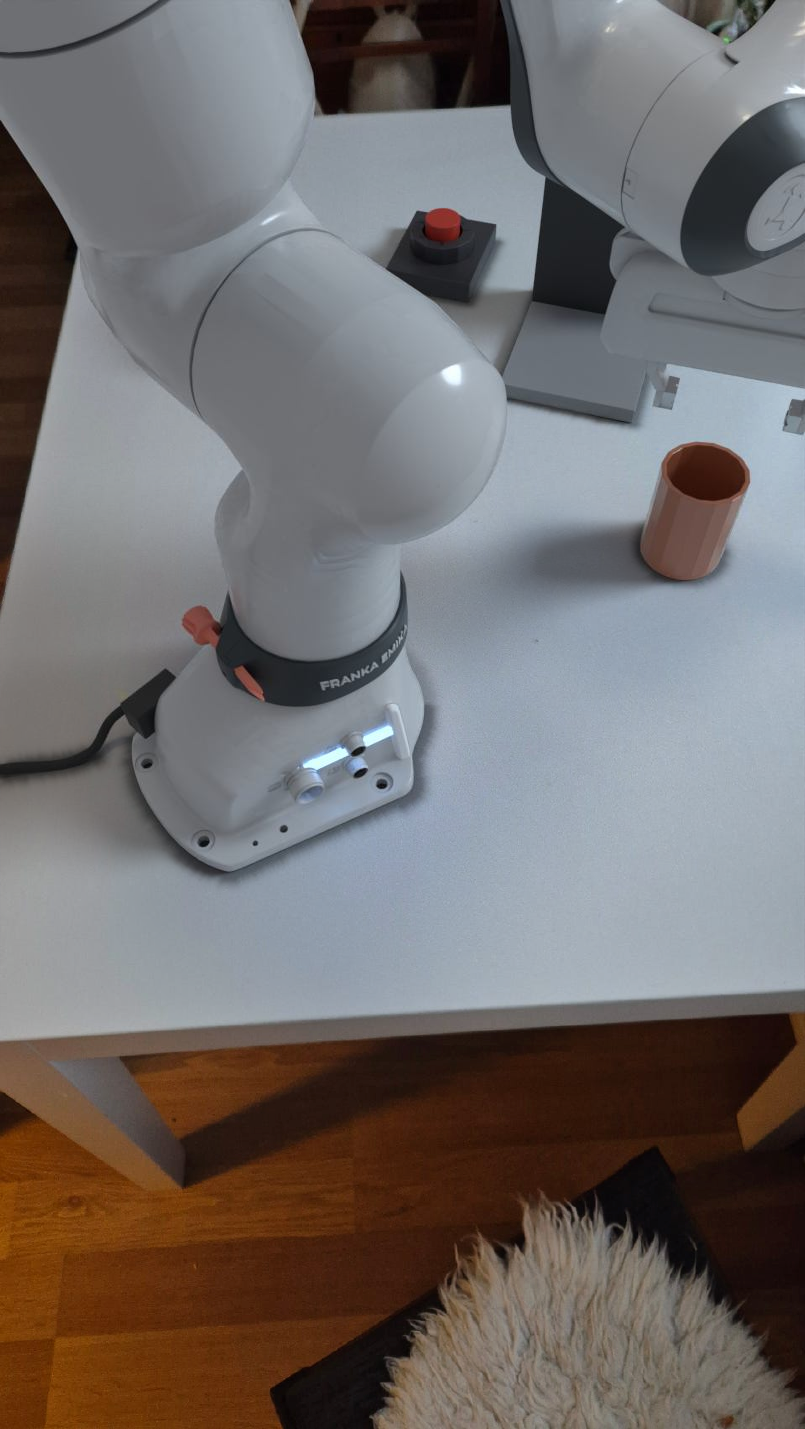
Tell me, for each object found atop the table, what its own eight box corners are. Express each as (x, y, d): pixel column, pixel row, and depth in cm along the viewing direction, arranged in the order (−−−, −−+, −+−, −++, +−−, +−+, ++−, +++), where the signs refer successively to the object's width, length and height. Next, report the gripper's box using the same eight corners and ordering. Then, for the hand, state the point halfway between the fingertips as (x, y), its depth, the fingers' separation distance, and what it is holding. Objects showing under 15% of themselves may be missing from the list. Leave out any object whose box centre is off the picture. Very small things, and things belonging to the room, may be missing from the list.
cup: (680, 593, 84) (707, 517, 76) (623, 544, 87) (643, 467, 79) (737, 555, 86) (768, 477, 78) (679, 508, 89) (704, 429, 81)
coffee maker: (632, 423, 95) (688, 183, 75) (497, 396, 97) (518, 156, 77) (663, 313, 103) (720, 73, 84) (539, 290, 105) (567, 51, 86)
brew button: (454, 246, 104) (454, 230, 102) (420, 240, 104) (420, 224, 103) (463, 227, 106) (464, 211, 104) (430, 221, 106) (431, 205, 105)
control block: (468, 303, 104) (470, 268, 101) (385, 288, 106) (384, 253, 103) (495, 243, 110) (498, 207, 107) (416, 229, 112) (416, 194, 108)
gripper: (607, 244, 63) (579, 416, 74) (952, 301, 59) (865, 473, 71) (626, 187, 66) (597, 361, 78) (956, 238, 62) (872, 413, 74)
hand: (727, 415), depth 74 cm, fingers open, 8 cm apart
